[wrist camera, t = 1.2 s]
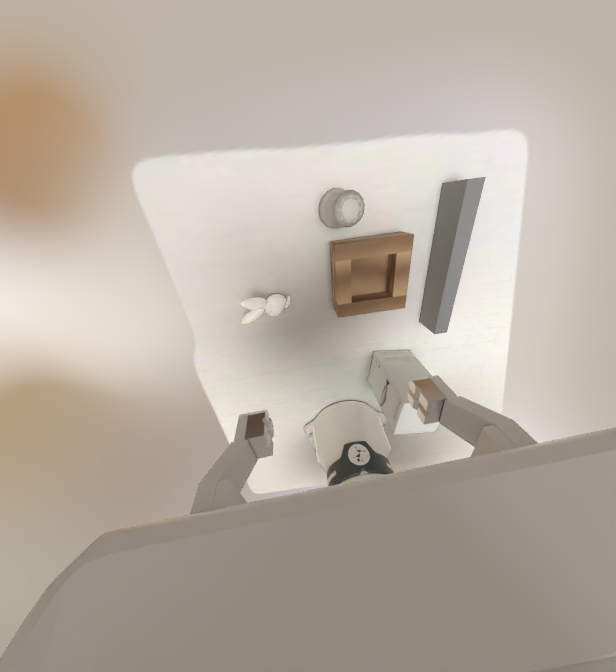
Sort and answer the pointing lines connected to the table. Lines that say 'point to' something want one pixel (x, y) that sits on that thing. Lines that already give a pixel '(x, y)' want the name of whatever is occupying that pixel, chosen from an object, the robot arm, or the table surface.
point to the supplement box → (398, 389)
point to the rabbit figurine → (264, 306)
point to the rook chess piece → (341, 208)
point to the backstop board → (449, 250)
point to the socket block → (370, 273)
